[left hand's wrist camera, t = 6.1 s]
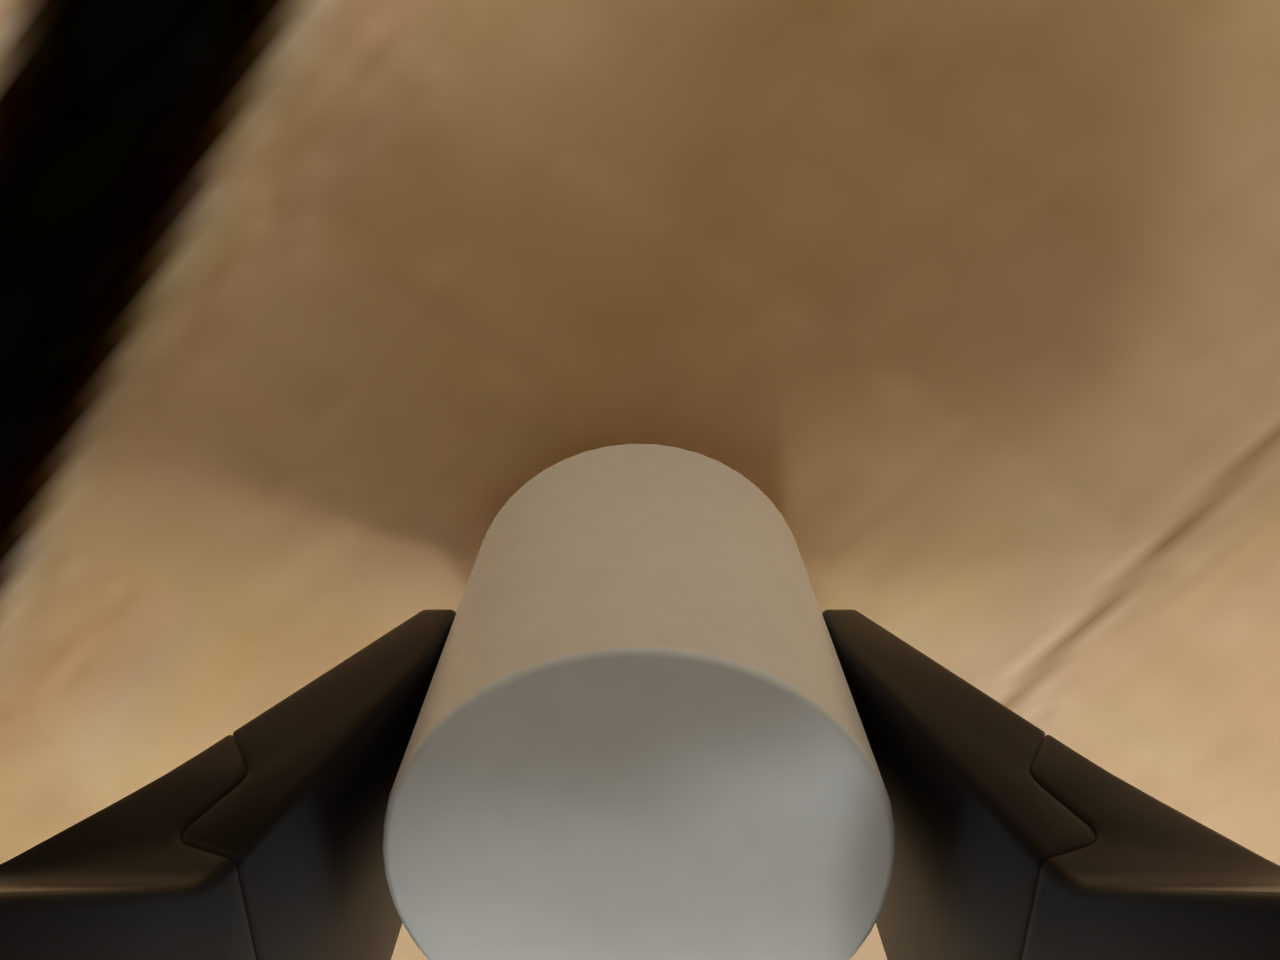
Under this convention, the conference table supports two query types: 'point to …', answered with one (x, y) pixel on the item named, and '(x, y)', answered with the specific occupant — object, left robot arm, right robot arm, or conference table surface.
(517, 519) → the can
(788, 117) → the conference table surface
